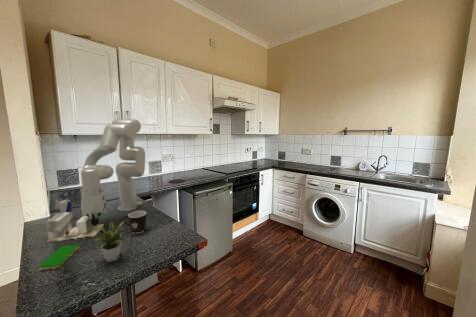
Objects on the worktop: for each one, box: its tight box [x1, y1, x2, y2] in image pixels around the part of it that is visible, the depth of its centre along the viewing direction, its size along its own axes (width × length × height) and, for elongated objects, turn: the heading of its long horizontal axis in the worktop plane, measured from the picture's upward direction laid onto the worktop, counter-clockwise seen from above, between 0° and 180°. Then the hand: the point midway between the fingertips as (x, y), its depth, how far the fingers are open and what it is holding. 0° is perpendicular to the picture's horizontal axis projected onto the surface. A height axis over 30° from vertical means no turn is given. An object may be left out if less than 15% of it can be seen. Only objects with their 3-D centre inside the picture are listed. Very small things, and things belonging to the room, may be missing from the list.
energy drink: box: [58, 199, 74, 221], centre depth 118 cm, size 5×5×12 cm
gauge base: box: [46, 212, 104, 243], centre depth 104 cm, size 20×12×10 cm, turn 105°
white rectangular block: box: [75, 215, 93, 234], centre depth 104 cm, size 4×10×6 cm, turn 15°
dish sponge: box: [38, 244, 80, 270], centre depth 85 cm, size 7×14×2 cm, turn 12°
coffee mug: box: [121, 210, 147, 233], centre depth 107 cm, size 12×9×10 cm
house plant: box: [92, 220, 126, 259], centre depth 84 cm, size 14×14×16 cm
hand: (95, 224), depth 107 cm, fingers closed
